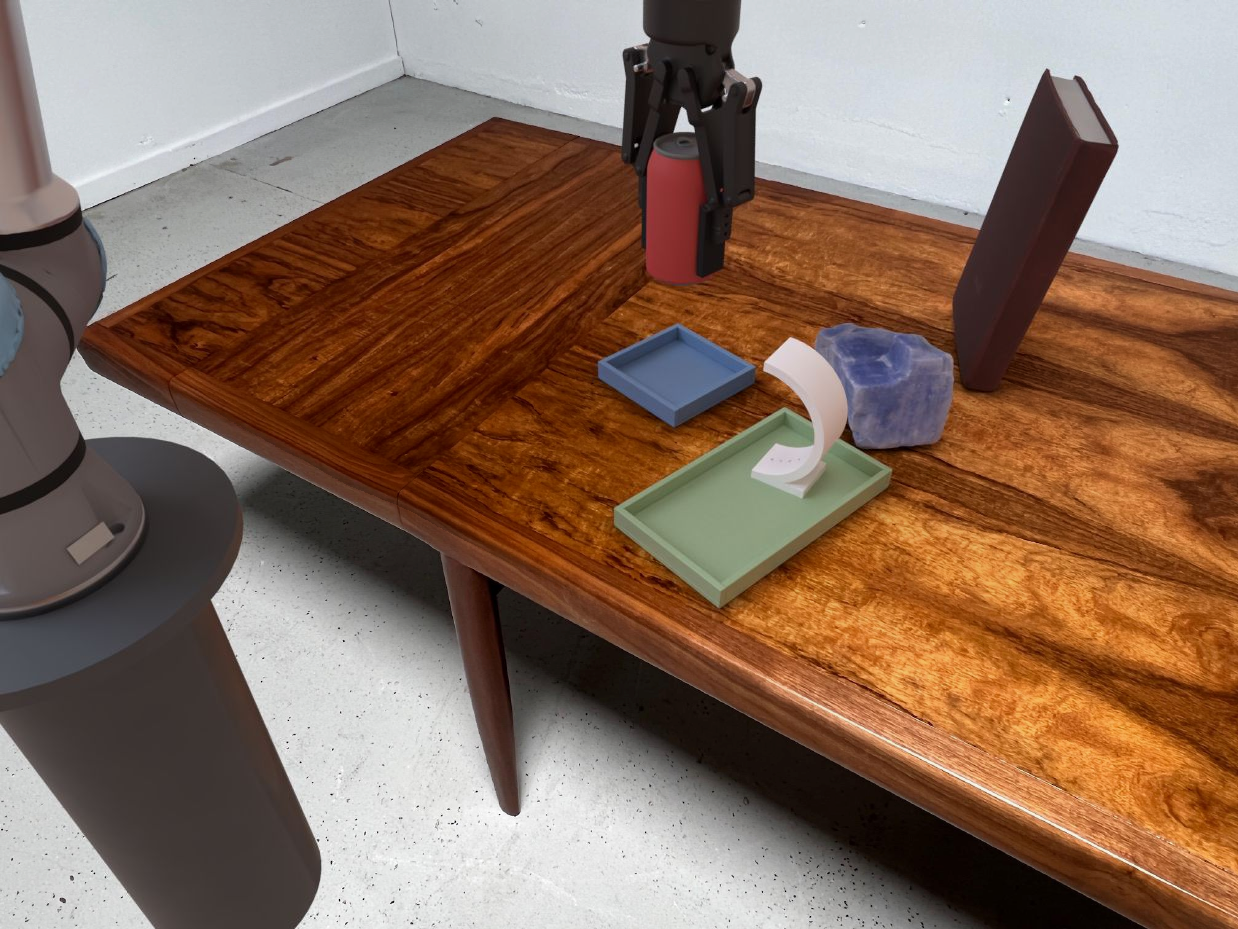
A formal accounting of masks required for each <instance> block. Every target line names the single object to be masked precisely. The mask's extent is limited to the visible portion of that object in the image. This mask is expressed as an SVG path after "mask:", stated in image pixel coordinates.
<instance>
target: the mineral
mask: <svg viewBox="0 0 1238 929" xmlns="http://www.w3.org/2000/svg"><path fill="white" fill-rule="evenodd" d="M814 350H815V351H817V352H818V353H819V354H820V355H821V356H822V357H823V358H824V359H825V360H826V361H827V362H828V363H829V364H830V365H831V367H832V368H833V369H834V371H835V372H836V374H837V376H838V377H839V379H840V381H841V383H842V386H843V388H844V391H845V394H846V399H847V406H848V414H847V422H848V425H849V426H848V427H849V428H850V430H851V431H852V438H853V440H854V444H855V446H856V447H858V448H860V449H862V450H885V449H893V448H899V447H914V446H922V445H923V446H925V445H932V444H936V443H937V442H938V441H940V440H941V437H942V435H943V432H944V429H945V427H946V423H947V420H948V417H949V413H950V410H951V406H952V403H953V398H954V382H955V377H954V367H955V366H954V364H955V363H954V358H953V356H952V355H951V354H950V353H949V352H946V351H944V350H942V349H939V348H938V347H936V346H934V345H932V344H931V343H930V342H929V341H928V340H927V339H926V338H925V337H924V336H922V335H920V334H915V333H903V332H895V331H891V330H888V329H885V328H882V327H877V328H875V327H864V326H859V325H857V324H855V323H854V322H853V323H852V322H845V323H841V324H837V325H834V326H833V327H825V328H822V329H820V330H819V331H818V333H817V335H816V339H815V341H814Z"/></svg>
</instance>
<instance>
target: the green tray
mask: <svg viewBox="0 0 1238 929" xmlns="http://www.w3.org/2000/svg"><path fill="white" fill-rule="evenodd" d="M814 436H815V435H814V427H813V423H812V421H810V420H808V419H806V418H805V417H804V416H801V415H800V414H798V413H796V412H795V411H793V410H791V409H789V408H788V407H786V406H784V407H782V408H780V409H778V410H777V411H775V412H774V413H772V414H770V415H768V416H767V417H765V418H763V419H762V420H760V421H758V422H756V423H755V424H753V425H751V426H750V427H748V428H747V429H744V430H743V431H741V432H739V433H737V434H736V435H735V436H733V437H731V438H730V439H727V440H726V441H724V442H722V443H721V444H719V445H718V446H716V447H715V448H713V449H711V450H710V451H708V452H706V453H704V454H702V455H701V456H700V457H698V458H695V459H694V460H692V461H691V462H689V463H688V464H685V465H684V466H682V467H681V468H679V469H677V470H675V471H673V472H672V473H671V474H669V475H668V476H666V477H664V478H663V479H660V480H659V481H657V482H655V483H654V484H652V485H650V486H648V487H646V488H645V489H643V490H642V491H640V492H639V493H637V494H635V495H633V496H632V497H629V498H628V499H626V500H625V501H623V502H621V503H620V504H618V505H617V506H614V508H613V525H614V527H616V528H617V529H618V530H619V531H620V532H622V534H624V535H625V536H627V537H628V538H629V539H631V540H632V541H633V542H635V543H636V544H637V545H638V546H639V547H640V548H642V549H643V550H644V551H646V552H647V553H648V554H649V555H651V557H653V558H655V559H656V560H657V561H658V562H660V563H661V564H662V565H663V566H665V567H666V568H667V569H669V570H670V571H671V572H672V573H674V574H675V575H676V576H678V577H679V578H680V579H681V580H682V581H684V582H685V583H686V584H687V585H689V586H690V587H691V588H692V589H693V590H695V591H696V592H697V593H699V594H700V595H701V596H703V597H704V598H705V599H706V600H708V601H709V602H710V603H711V604H712V605H713V606H715V607H717V609H719V610H720V609H722V607H724V606H726V605H727V604H728V603H729V602H731V601H732V600H734V599H735V598H736V597H738V596H739V595H741V594H742V593H743V592H745V591H746V590H747V589H749V588H750V587H752V586H753V585H754V584H757V582H759V581H760V580H761V579H763V578H765V577H766V576H767V575H768V574H769V573H771V572H773V571H774V570H775V569H777V568H778V567H779V566H782V564H784V563H785V562H786V561H787V560H789V559H791V558H792V557H793V556H795V555H797V553H799V552H800V551H801V550H803V549H804V548H806V547H807V546H808V545H810V544H811V543H812V542H814V541H815V540H817V539H819V538H820V537H821V536H822V535H824V534H825V533H826V532H828V531H829V530H830V529H832V528H833V527H835V526H836V525H837V524H839V523H840V522H842V521H843V520H844V519H846V518H847V517H849V516H850V515H852V514H853V513H854V512H856V511H857V510H859V509H860V508H861V507H863V506H864V505H865V504H866V503H868V502H869V501H871V500H873V499H874V498H875V497H876V496H878V495H879V494H880V493H882V492H883V491H885V490H886V489H887V488H889V487H890V482H891V479H892V474H893V469H892V468H891V467H889V466H887V465H886V464H884V463H882V462H880V461H879V460H877V459H875V458H874V457H873V456H870V455H868V454H867V453H865V452H863V451H862V450H860V449H858V448H857V447H855V446H853V445H851V444H850V443H848V442H846V441H844V440H842V438H839V439H838V440H837V441H836V442H835V444H834V445H833V446H832V447H831V448H830V450H829V451H828V452H827V453H826V454H825V456H824V457H823V458H822V459H821V460H820V461H822V462H825V463H827V464H826V469H825V471H824V473H823V474H822V475H821V476H820V478H819V479H818V480H817V481H816V482H815V484H814V485H813V486H812V487H811V489H810V490H809V491H808V492H807V494H806V495H805V496H804V497H803V499H802V498H799V497H797V496H795V495H792V494H790V493H787V492H785V491H783V490H780V489H778V488H775V487H773V486H771V485H768V484H766V483H763V482H761V481H759V480H756V479H754V478H752V477H751V472H752V469H753V468H754V467H755V466H756V465H757V464H758V462H759V461H760V460H761V459H762V458H763V457H764V456H765V455H766V454H767V453H768V451H769V450H770V449H771V448H772V447H773V446H774V445H775V444H776V443H777V444H780V445H783V446H787V447H794V448H802V447H809V446H812V445H814Z"/></svg>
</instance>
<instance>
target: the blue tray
mask: <svg viewBox="0 0 1238 929" xmlns="http://www.w3.org/2000/svg"><path fill="white" fill-rule="evenodd" d="M756 370H757V366H755V365H754V364H752V363H750V362H748V361H747V360H745V359H743V358H742V357H739V356H737V355H735V354H734V353H732V352H731V351H729V350H727V349H725V348H723V347H722V346H719V345H718V344H716V343H714V342H713V341H711V340H709V339H708V338H706V337H703V336H702V335H701V334H698V333H697V332H695V331H693V330H691V329H689V328H687V327H686V326H685V325H682V324H681V323H679V322H677V323H675V324H673V325H671V326H669V327H667V328H665V329H663V330H660V331H659V332H657V333H655V334H653V335H650V336H648V337H646V338H644V339H642V340H640V341H638V342H636V343H634V344H631V345H630V346H627V347H625V348H623V349H621V350H619V351H617V352H615V353H613V354H611V355H609V356H607V357H604V358H602V359H600V360H598V361H597V373H598V374H597V378H598V379H599V380H601V381H603V382H604V383H606V384H607V385H608V386H610V387H611V388H613V389H614V390H616V391H618V392H619V393H621V394H622V395H624V396H625V397H627V398H628V399H630V400H631V401H633V402H634V403H636V404H637V405H639V406H640V407H642V408H643V409H644V410H647V411H648V412H650V413H651V414H652V415H654V416H655V417H657V418H658V419H660V420H661V421H663V422H665V423H666V424H667V425H669V426H671V427H672V428H677V427H678V426H680V425H683V424H684V423H685V422H687V421H689V420H691V419H692V418H695V417H697V416H698V415H700V414H702V413H704V412H705V411H707V410H709V409H710V408H712V407H714V406H716V405H718V404H720V403H721V402H723V401H725V400H727V399H729V398H730V397H732V396H734V395H736V394H737V393H739V392H741V391H743V390H745V389H746V388H748V387H750V386H752V385H754V384H755V380H756Z"/></svg>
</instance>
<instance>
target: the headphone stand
mask: <svg viewBox="0 0 1238 929" xmlns="http://www.w3.org/2000/svg"><path fill="white" fill-rule="evenodd" d="M762 370H763V372H765V373H768V374H769V375H772V376H773V377H775V378H777V379H779V380H780V381H782V382H783V383H784V384H786V385H787V386H788V387H789V388H790V389H791V390H792V391H793V392H794V393H795V394H796V396H798V398H799V399H800V400H801V402H802V403H803V404H804V406H805V409H806V410H807V412H808V415H809V417H810V419H811V422H812V423H813V427H814V435H815V436H814V445H812V446H809V447H802V448H794V447H787V446H783V445H780V444H777V443H776V444H775V445H774V446H773V447H772V448H771V449H770V450H769V451H768V453H767V454H766V455H765V456H764V457H763V458H762V459H761V460H760V461H759V462H758V464H757V465H756V466H755V467H754V468H753V469H752V472H751V477H752V478H754V479H756V480H759V481H761V482H763V483H766V484H768V485H771V486H773V487H775V488H778V489H780V490H783V491H785V492H787V493H790V494H792V495H795V496H797V497H799V498H802V499H803V497H804V496H805V495H806V494H807V492H808V491H809V490H810V489H811V487H812V486H813V485H814V484H815V482H816V481H817V480H818V479H819V478H820V476H821V475H822V474H823V473H824V471H825V469H826V464H827V463H825V462H822V461H820V460H821V459H822V458H823V457H824V456H825V454H826V453H827V452H828V451H829V450H830V448H831V447H832V446H833V445H834V444H835V442H836V441H837V440H838V439H840V438H841V436H842V434H843V432H844V430H845V427H846V426H847V425H846V424H847V422H848V418H847V414H848V406H847V399H846V394H845V391H844V388H843V386H842V383H841V381H840V379H839V377H838V376H837V374H836V372H835V371H834V369H833V368H832V367H831V365H830V364H829V363H828V362H827V361H826V360H825V359H824V358H823V357H822V356H821V355H820V354H819V353H818V352H817V351H815V348H814V347H813V348H812V347H811V346H810V345H809V344H807V343H805V342H803V341H801V340H799V339H797V338H794V337H791V336H790V337H789V338H787V340H786V341H784V342H783V343H782V345H780V347H778V348H777V349H776V350H775V351H774V352H773V353H772V354H771V355H770V356H769V357H768V358H767V359H765V361H764V362H763V369H762Z"/></svg>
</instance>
